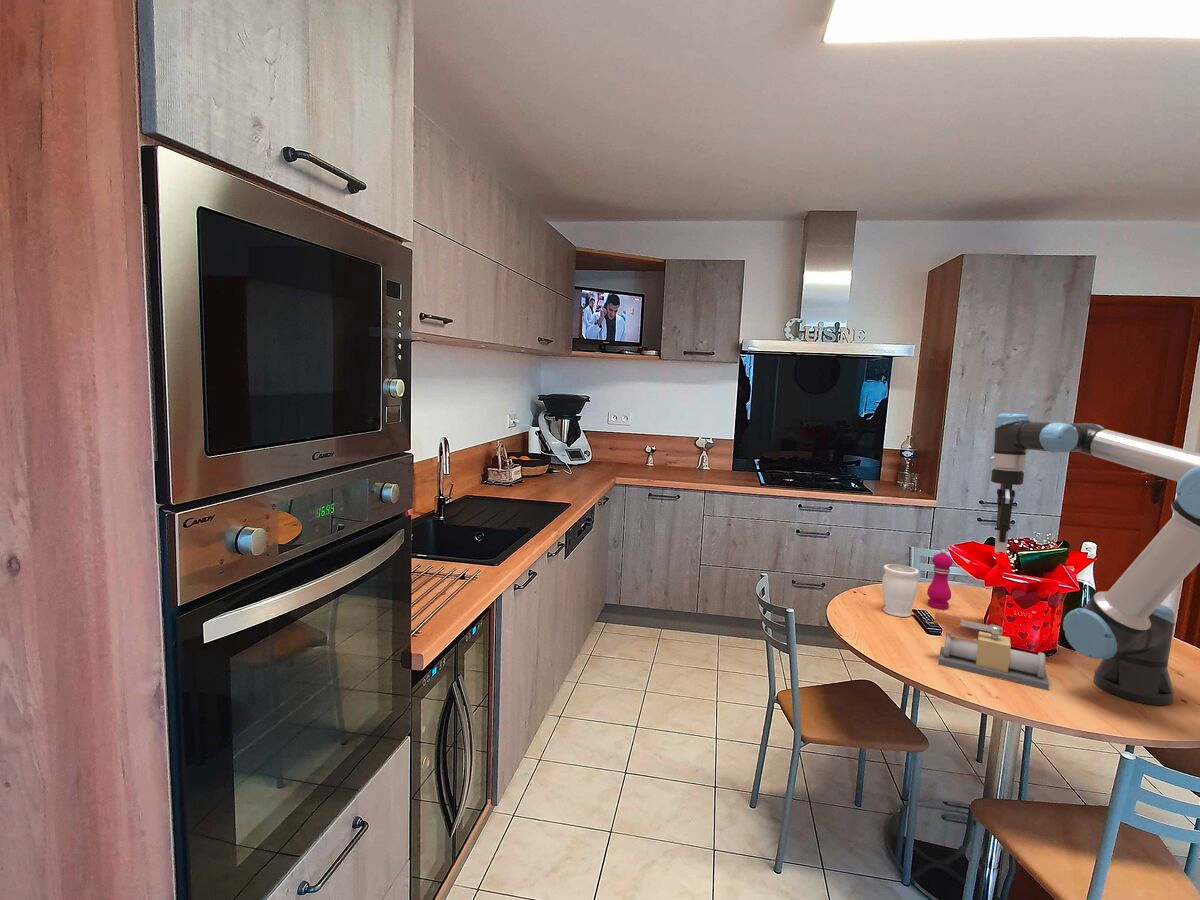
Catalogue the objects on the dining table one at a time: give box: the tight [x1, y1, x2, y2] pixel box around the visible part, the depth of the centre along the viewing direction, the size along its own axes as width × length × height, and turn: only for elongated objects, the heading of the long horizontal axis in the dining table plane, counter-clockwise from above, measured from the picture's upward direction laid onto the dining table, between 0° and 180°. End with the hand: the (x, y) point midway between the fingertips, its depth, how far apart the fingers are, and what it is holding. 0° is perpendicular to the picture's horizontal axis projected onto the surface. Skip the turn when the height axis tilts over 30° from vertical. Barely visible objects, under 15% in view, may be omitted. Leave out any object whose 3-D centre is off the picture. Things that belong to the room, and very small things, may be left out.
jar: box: [881, 563, 919, 618], centre depth 204 cm, size 11×10×15 cm
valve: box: [938, 630, 1050, 691], centre depth 164 cm, size 24×10×10 cm, turn 58°
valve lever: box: [933, 612, 1003, 636], centre depth 167 cm, size 16×3×2 cm, turn 58°
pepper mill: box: [926, 548, 953, 611], centre depth 212 cm, size 7×7×20 cm
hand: (1000, 552), depth 175 cm, fingers closed
